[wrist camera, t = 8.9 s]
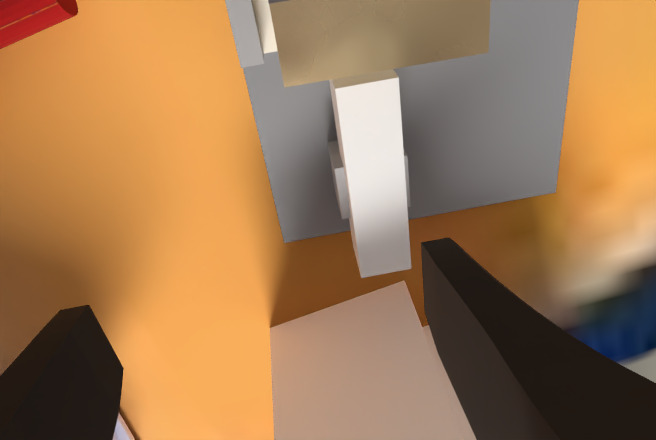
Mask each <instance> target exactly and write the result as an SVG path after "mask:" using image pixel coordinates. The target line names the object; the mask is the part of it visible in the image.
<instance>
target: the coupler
mask: <svg viewBox="0 0 656 440" xmlns="http://www.w3.org/2000/svg"><path fill="white" fill-rule="evenodd" d="M268 3H269V7H270V12H271V18H272V23H273V28H274V34H275V39H276V45H277V50H278V55H279V61H280V66H281V72H282V77H283V83H284V88H285V87H290V86H296V85H302V84H308V83H314V82H320V81H326V80H332V79H337V78H343V77H349V76H355V75H361V74H367V73H373V72H378V71H384V70H390V69H396V68H402V67H408V66H414V65H420V64H425V63H431V62H437V61H443V60H449V59H455V58H461V57H466V56H472V55H478V54H484V53H489V30H490V5H491V0H268Z"/></svg>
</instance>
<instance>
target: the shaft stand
mask: <svg viewBox="0 0 656 440" xmlns="http://www.w3.org/2000/svg"><path fill="white" fill-rule="evenodd" d="M225 2H226V6H227V11H228V15H229V19H230V23H231V27H232V32H233V36H234V40H235V44H236V48H237V53H238V57H239V61H240V65H241V68H243V70H244V75H245V79H246V83H247V87H248V92H249V96H250V100H251V104H252V109H253V113H254V117H255V121H256V125H257V130H258V134H259V138H260V142H261V147H262V151H263V155H264V159H265V164H266V168H267V172H268V176H269V181H270V185H271V189H272V193H273V198H274V202H275V206H276V210H277V214H278V219H279V223H280V227H281V231H282V236H283V240H284V243H287V242H292V241H297V240H303V239H308V238H314V237H319V236H324V235H330V234H335V233H340V232H346V231H351V235H352V242H353V249H354V252H355V256H356V260H357V264H358V267H359V271H360V275H361V278H365V277H370V276H375V275H381V274H386V273H391V272H397V271H402V270H407V269H411V254H410V239H409V224H408V220H410V219H416V218H421V217H427V216H432V215H437V214H443V213H448V212H453V211H459V210H464V209H470V208H475V207H480V206H486V205H491V204H496V203H502V202H507V201H513V200H518V199H523V198H529V197H534V196H539V195H545V194H550V193H556V186H557V177H558V169H559V161H560V152H561V144H562V136H563V127H564V119H565V111H566V103H567V94H568V86H569V78H570V69H571V61H572V53H573V44H574V36H575V28H576V19H577V11H578V3H579V0H491V5H490V30H489V53H484V54H478V55H472V56H466V57H461V58H455V59H449V60H443V61H437V62H431V63H425V64H420V65H414V66H408V67H402V68H396V69H390V70H384V71H378V72H373V73H367V74H361V75H355V76H349V77H343V78H337V79H332V80H326V81H320V82H314V83H308V84H302V85H296V86H290V87H285V88H284V83H283V77H282V72H281V66H280V61H279V55H278V50H277V45H276V39H275V34H274V28H273V23H272V18H271V12H270V7H269V3H268V0H225Z"/></svg>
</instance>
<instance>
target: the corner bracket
mask: <svg viewBox="0 0 656 440" xmlns="http://www.w3.org/2000/svg"><path fill="white" fill-rule="evenodd" d="M270 346H271V371H272V395H273V419H274V440H476V437H475V435H474V433H473V431H472V428H471V426H470V424H469V422H468V420H467V417H466V415H465V413H464V411H463V408H462V406H461V404H460V402H459V400H458V397H457V395H456V393H455V391H454V388H453V386H452V384H451V382H450V379H449V377H448V375H447V373H446V370H445V368H444V366H443V364H442V361H441V359H440V357H439V355H438V352H437V349H436V346H435V343H434V340H433V337H432V334H431V330H430V327H429V325H427V326H424V327H422V325H421V323H420V320H419V317H418V315H417V312H416V309H415V307H414V304H413V301H412V299H411V296H410V293H409V291H408V288H407V285H406V283H405V280H403V281H401V282H398V283H395V284H392V285H389V286H387V287H384V288H381V289H378V290H375V291H373V292H370V293H367V294H364V295H361V296H358V297H356V298H353V299H350V300H347V301H344V302H342V303H339V304H336V305H333V306H330V307H328V308H325V309H322V310H319V311H316V312H313V313H311V314H308V315H305V316H302V317H299V318H297V319H294V320H291V321H288V322H285V323H282V324H280V325H277V326H274V327H271V328H270Z"/></svg>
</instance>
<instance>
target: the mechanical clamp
mask: <svg viewBox="0 0 656 440" xmlns="http://www.w3.org/2000/svg"><path fill="white" fill-rule="evenodd" d="M77 13H78V7H77V3H76V0H0V49H1V48H3V47H6V46H8V45H10V44H13V43H15V42H17V41H19V40H22V39H24V38H26V37H28V36H31V35H33V34H35V33H37V32H40V31H42V30H44V29H46V28H49V27H51V26H53V25H55V24H58V23H60V22H62V21H64V20H67V19H69V18H71V17H73V16H75V15H77Z"/></svg>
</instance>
